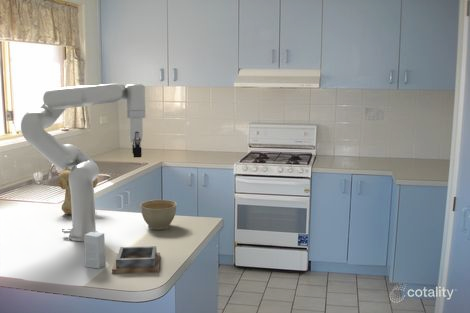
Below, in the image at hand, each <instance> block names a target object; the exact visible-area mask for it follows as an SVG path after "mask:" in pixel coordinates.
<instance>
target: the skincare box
mask: <svg viewBox="0 0 470 313" xmlns="http://www.w3.org/2000/svg"><path fill="white" fill-rule="evenodd" d="M83 242H84V260H85V261H84V264H85V265H84V266H85V267H87V268H91V269H92V268H94V269H101V268H102V267H104V266H105V265H106V244H105V233H101V232H99V233H96V232H89V233H87V234H85V235H84V241H83Z"/></svg>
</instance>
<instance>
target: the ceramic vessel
mask: <svg viewBox="0 0 470 313" xmlns="http://www.w3.org/2000/svg"><path fill="white" fill-rule="evenodd" d="M70 171H71V170H65V169H64V170H62V171H61V172H60V173H59V174H58V178H59V179H58V181H57V184H58V185H59V188H61V190H65V194H64V200H63V201H64V202H63V203H62V204H61V211H62V212H63V213H65V215H67V216H69V215H70V216H72V206H71V191H70V185H69V173H70ZM98 184H99V179H98V177H97V178H96V179H95V180H94V181H93V188H94V189H95V188H96V186H97V185H98Z"/></svg>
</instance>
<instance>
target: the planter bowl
mask: <svg viewBox="0 0 470 313" xmlns="http://www.w3.org/2000/svg"><path fill="white" fill-rule="evenodd" d="M177 206H178V205H177V202H176V201H173V200H169V199H151V200H147V201H143V202H142V203H140V209H141V215H142V218H143V220H144V221H145V224H147V225H148V228H149V229H151V230H156V231H161V230H167V229H168V228H170V225H171V223H172V222H173V220H174V219H175V216H176V211H177Z"/></svg>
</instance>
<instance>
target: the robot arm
mask: <svg viewBox="0 0 470 313" xmlns="http://www.w3.org/2000/svg"><path fill="white" fill-rule="evenodd" d="M42 100H43V104H42V105H41V107H40V108H38V109H32V110H29V111H28V112H26V113H24V115H23V117H22V118H21V121H20V129H21V134H22V137H23V138H24V139H25V140H26V142H27V143H28V144H29V145H30V146H32V147H33V148H34V149H35V150H36V151H37V152H39V153H40V154H41V155H42V157H44V158H45V159H46V160H48V161H49V162H50V163H51V164H52V165H53V166H54V167H56V168H57V169H59V170H65V169H69V171H70V173H69V185H70V191H71V206H72V215H71V226H70V227H62V228H61V229H62V230H61V232H62V233H63V234H68V238H69V240H71V241H73V242H84V235H85V234H87V233H89V232H96V233H100V232H99V231H98V230H97V227H96V201H95V197H96V196H95V188H93V181H94V180H95V179H96V178H98V177H99V175H100V168H99V166H98V164H97V163H96V162H95V161H94V160H93V159H92V158H90V157H89V155H87V153H84V151H82V150H81V149H80V148H79V147H78V146H76V145H74V144H71V143H66V144H65V143H64V144H63V143H61V142H60V141H59V140H58V139H57V138H56V137H55V136H53V135H52V134H50V133H49V132H48V131H46V129H48V128H50V127H51V126H53V125H54V124H55V122H56V121H57V120H58V119H59V118H60V117H61V115H62V114H63V113H64V112H65V110H66V109H72V108H83V107H89V106H94V105H103V104H105V105H106V104H114V103H119V102H120V103H121V102H125V101H126V118H127V119H129V122H128V124H129V125H128V127H129V128H128V129H129V131H128V132H129V135H128V136H129V143H132V144H131V146H132V148H131V149H132V155H133V156H132V157H133V158H134V159H135V158H142V154H143V153H142V142H143V132H144V131H143V129H144V128H143V127H144V126H143V124H144V123H143V119H146V87H145V85H144V84H141V83H129V84H127V83H120V82H117V83H116V82H115V83H106V84H98V85H97V84H96V85H76V86H75V85H74V86H65V87H56V88H55V87H54V88H49V89H48V90H46V91H45V92H44V94H43V97H42Z"/></svg>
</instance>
